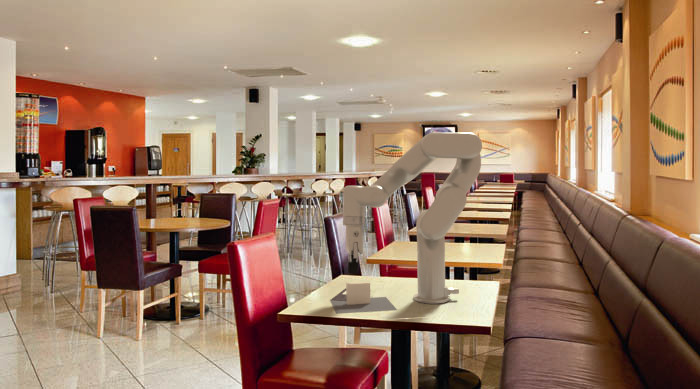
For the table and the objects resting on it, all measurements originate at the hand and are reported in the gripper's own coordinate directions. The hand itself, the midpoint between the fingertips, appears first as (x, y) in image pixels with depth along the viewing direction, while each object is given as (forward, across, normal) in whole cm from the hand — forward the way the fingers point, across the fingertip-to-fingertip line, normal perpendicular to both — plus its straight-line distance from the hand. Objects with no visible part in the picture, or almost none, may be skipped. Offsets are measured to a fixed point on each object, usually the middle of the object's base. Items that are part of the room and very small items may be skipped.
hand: (352, 273), depth 196 cm
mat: (+10, -8, -2) cm, 13 cm away
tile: (+9, -6, -1) cm, 11 cm away
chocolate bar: (+10, +7, 0) cm, 12 cm away
